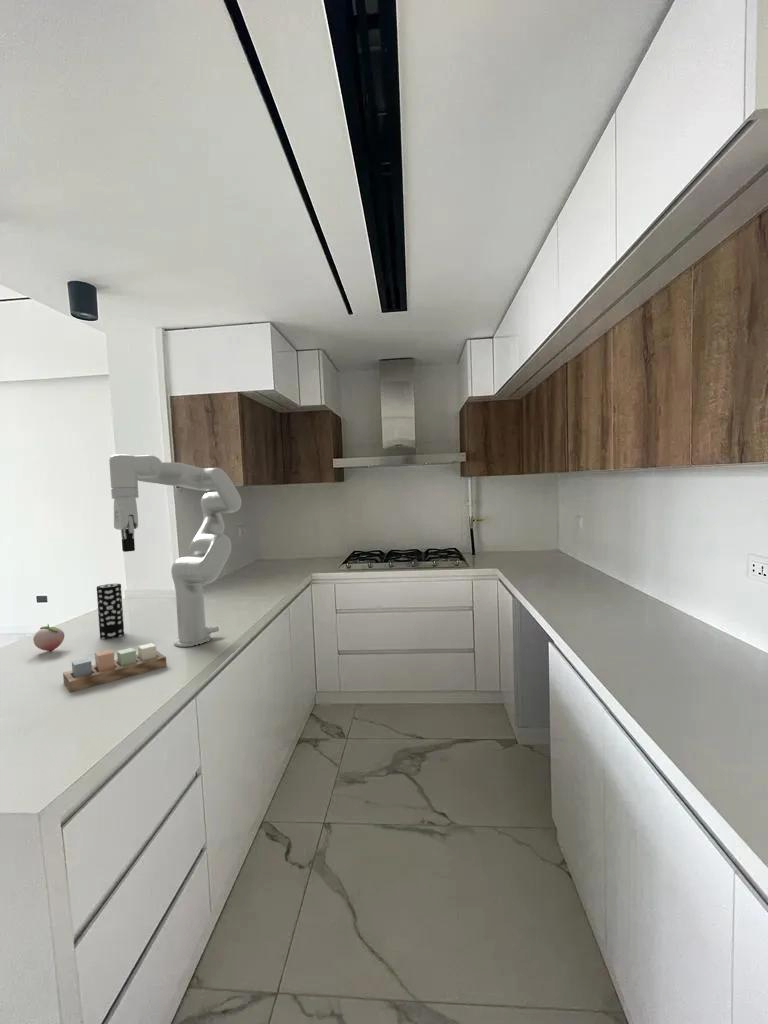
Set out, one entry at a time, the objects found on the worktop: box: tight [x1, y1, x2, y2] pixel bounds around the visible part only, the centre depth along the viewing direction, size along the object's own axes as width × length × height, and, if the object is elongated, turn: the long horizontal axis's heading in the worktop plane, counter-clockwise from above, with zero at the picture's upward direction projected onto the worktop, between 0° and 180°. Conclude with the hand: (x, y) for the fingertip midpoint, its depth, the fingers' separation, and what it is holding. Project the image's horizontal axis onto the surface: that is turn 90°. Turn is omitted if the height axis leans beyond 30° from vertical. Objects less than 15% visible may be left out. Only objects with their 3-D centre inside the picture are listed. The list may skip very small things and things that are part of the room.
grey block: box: [71, 657, 92, 678], centre depth 140 cm, size 4×4×5 cm
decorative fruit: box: [32, 623, 65, 652], centre depth 169 cm, size 9×8×10 cm
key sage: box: [116, 647, 137, 666], centre depth 148 cm, size 4×4×5 cm
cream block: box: [137, 642, 157, 661], centre depth 152 cm, size 4×4×5 cm
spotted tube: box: [96, 583, 125, 640], centre depth 186 cm, size 8×8×20 cm
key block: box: [62, 649, 168, 693], centre depth 146 cm, size 26×10×3 cm, turn 133°
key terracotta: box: [94, 649, 115, 672], centre depth 144 cm, size 4×4×5 cm
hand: (128, 551), depth 151 cm, fingers closed
